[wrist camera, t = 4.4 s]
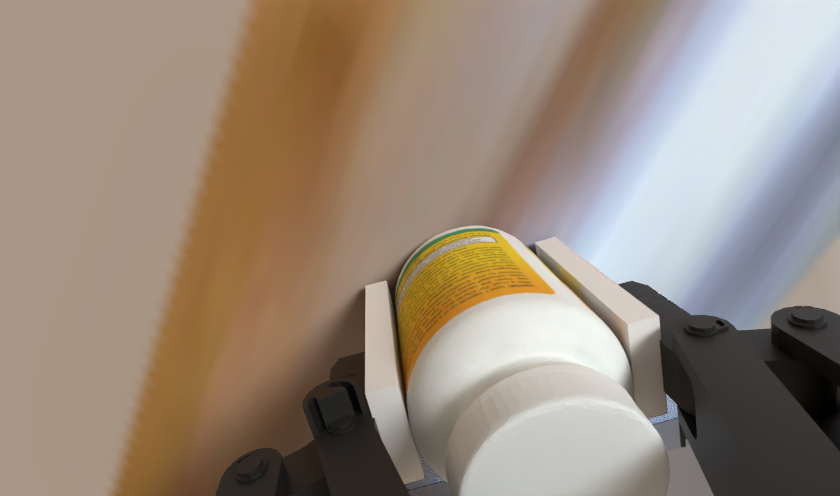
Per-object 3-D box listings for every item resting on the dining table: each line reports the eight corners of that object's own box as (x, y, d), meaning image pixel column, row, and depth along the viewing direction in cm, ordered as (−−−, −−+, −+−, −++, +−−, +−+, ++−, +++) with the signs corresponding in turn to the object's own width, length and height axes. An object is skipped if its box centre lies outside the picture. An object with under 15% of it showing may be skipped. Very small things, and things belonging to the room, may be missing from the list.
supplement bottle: (565, 260, 18) (770, 431, 9) (492, 378, 19) (608, 637, 10) (436, 195, 17) (519, 316, 8) (367, 325, 18) (367, 565, 9)
